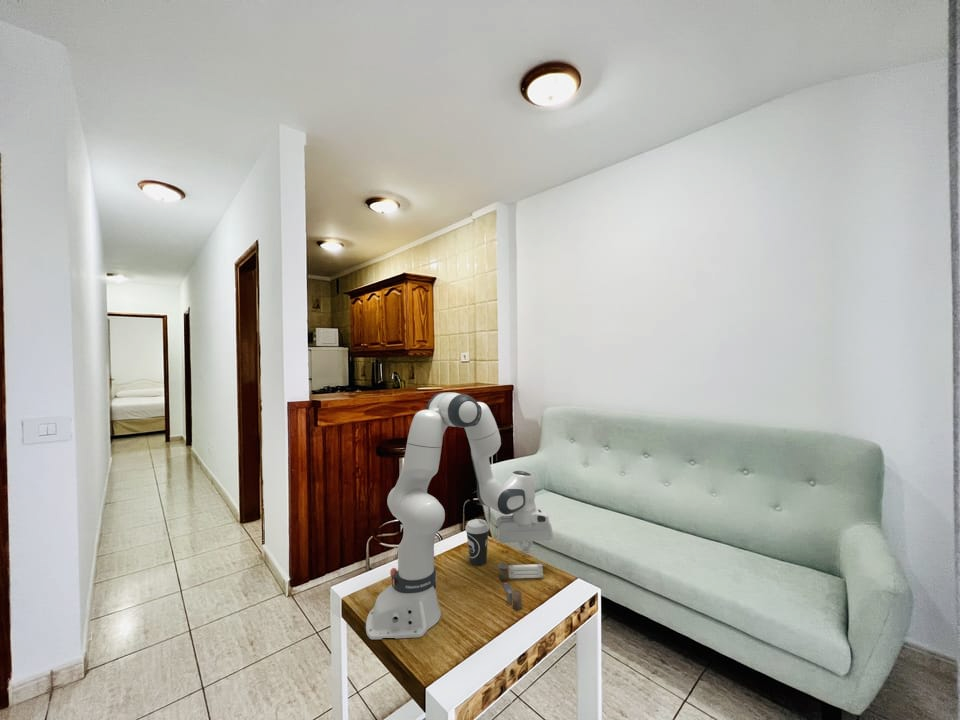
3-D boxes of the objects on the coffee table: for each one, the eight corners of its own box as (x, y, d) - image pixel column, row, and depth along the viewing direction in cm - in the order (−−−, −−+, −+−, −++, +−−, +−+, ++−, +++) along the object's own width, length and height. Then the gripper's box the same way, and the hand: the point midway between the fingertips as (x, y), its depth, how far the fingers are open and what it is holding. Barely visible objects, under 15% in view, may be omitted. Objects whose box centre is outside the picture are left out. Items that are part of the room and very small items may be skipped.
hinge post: (500, 583, 134) (499, 568, 134) (497, 578, 137) (497, 564, 137) (509, 581, 134) (509, 567, 135) (506, 576, 138) (506, 562, 138)
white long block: (509, 578, 135) (508, 567, 135) (508, 576, 137) (508, 565, 137) (542, 577, 135) (542, 566, 135) (542, 574, 137) (541, 563, 137)
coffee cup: (488, 569, 143) (486, 529, 144) (463, 567, 145) (462, 527, 146) (492, 556, 153) (491, 518, 153) (469, 554, 155) (468, 517, 155)
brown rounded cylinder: (512, 611, 118) (511, 596, 118) (507, 601, 124) (507, 586, 124) (523, 609, 119) (522, 594, 119) (517, 599, 124) (517, 584, 124)
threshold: (510, 600, 124) (510, 599, 124) (502, 585, 133) (502, 584, 133) (517, 599, 124) (517, 598, 124) (509, 584, 133) (509, 583, 133)
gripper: (496, 519, 138) (498, 557, 138) (552, 517, 138) (554, 555, 138) (495, 512, 144) (497, 549, 144) (549, 510, 144) (551, 546, 144)
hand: (525, 552), depth 141 cm, fingers closed
